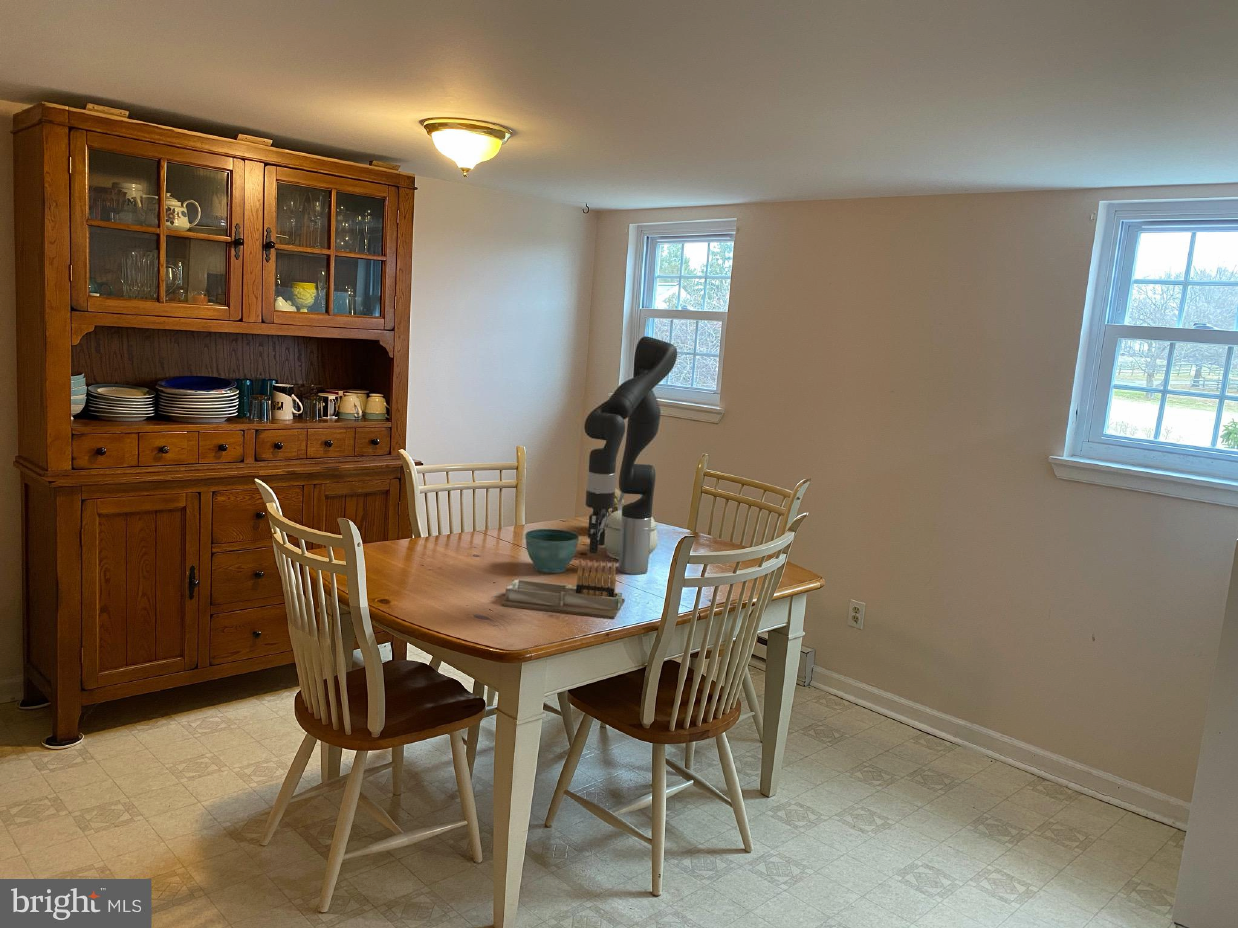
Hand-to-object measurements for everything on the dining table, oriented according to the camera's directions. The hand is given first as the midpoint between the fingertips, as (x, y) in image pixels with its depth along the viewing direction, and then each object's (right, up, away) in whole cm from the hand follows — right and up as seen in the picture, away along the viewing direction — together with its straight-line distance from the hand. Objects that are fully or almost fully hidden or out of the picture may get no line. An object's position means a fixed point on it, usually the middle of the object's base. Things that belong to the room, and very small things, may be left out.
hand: (596, 549), depth 243 cm
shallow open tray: (-9, -15, +3) cm, 18 cm away
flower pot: (-15, -10, +37) cm, 41 cm away
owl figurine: (+2, -3, +91) cm, 91 cm away
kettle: (+8, -8, +61) cm, 62 cm away
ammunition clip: (-1, -15, +2) cm, 15 cm away
